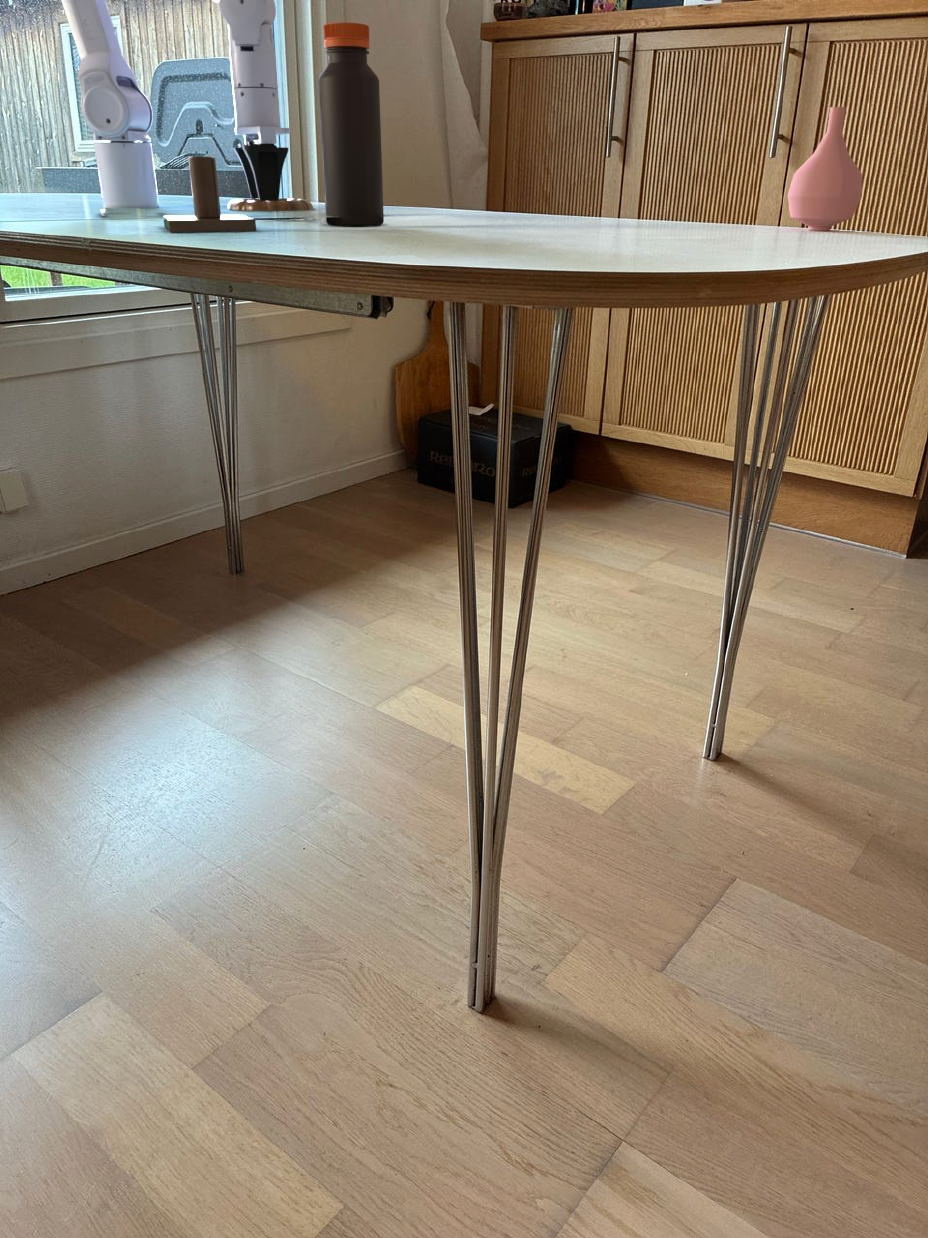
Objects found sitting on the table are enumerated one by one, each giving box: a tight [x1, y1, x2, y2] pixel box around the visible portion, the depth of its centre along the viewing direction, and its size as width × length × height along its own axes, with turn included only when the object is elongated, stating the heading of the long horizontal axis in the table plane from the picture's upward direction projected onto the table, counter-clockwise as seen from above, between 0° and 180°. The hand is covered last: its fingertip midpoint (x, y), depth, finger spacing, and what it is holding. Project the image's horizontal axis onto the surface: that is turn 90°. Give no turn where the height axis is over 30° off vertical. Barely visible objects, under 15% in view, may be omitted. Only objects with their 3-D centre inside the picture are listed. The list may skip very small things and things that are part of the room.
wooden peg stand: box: [162, 156, 257, 234], centre depth 102 cm, size 9×9×7 cm
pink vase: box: [787, 106, 863, 232], centre depth 102 cm, size 8×8×12 cm
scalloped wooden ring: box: [226, 197, 314, 221], centre depth 123 cm, size 11×11×2 cm
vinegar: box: [317, 22, 385, 228], centre depth 106 cm, size 7×7×20 cm
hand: (265, 204), depth 127 cm, fingers open, 7 cm apart
